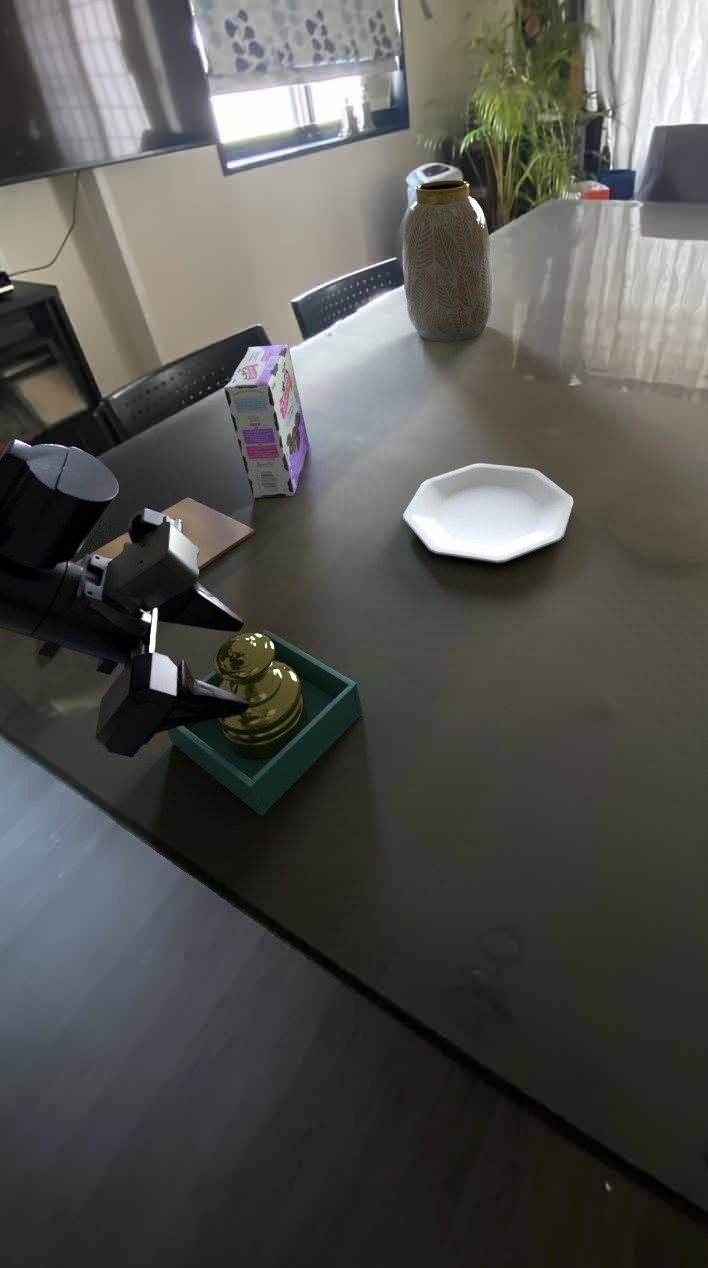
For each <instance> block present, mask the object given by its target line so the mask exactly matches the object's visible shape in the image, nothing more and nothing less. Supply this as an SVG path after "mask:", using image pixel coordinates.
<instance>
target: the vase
mask: <svg viewBox="0 0 708 1268" xmlns="http://www.w3.org/2000/svg"><path fill="white" fill-rule="evenodd" d="M415 196H416V200H415V201H414V202H413V203H412V205H411V206H410V208H409V210H408V211H407V213H406V215H405V218H404V222H403V230H402V231H403V232H402V272H403V287H404V294H405V295H404V298H405V304H406V305H405V306H406V311H407V315H408V317H409V320H410V322H411V324H412V326H413V327H414V329H415V330H416V332H417V334H418V335H419V336H420V337H422V338H423V339H426V340H429V341H435V342H458V341H463V340H467V339H471V338H473V337H476V336H477V335H479V334H481V333H482V332H483V331H484V330H485V328H486V326H487V324H488V322H489V319H490V317H491V315H492V312H493V311H492V310H493V304H494V303H493V301H494V297H493V296H494V281H493V279H494V278H493V262H492V261H493V260H492V250H491V249H492V248H491V242H490V236H489V229H488V225H487V220H486V216H485V214H484V212H483V209H482V208H481V206H480V205H479V203H478V202H477V201H476V200H475V198H473V197H472V196H470V183H469V181H466V180H462V179H446V180H445V179H443V180H434V181H429V182H423V183H420V184H419V185H416V186H415Z"/></svg>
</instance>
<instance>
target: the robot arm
mask: <svg viewBox="0 0 708 1268" xmlns="http://www.w3.org/2000/svg"><path fill="white" fill-rule="evenodd" d="M113 473H114V472H112V470H110V468H109V467H108V466H106V464H104V463H103V462H102V461H101V460H99V459H98V458H96V457H95V456H93V455H92V454H90V453H88V452H86V451H84V450H82V449H80V448H77V447H75V446H70V447H67V446H64V445H60V444H53V443H40V444H35V445H32V446H31V445H30V444H27V443H26V442H25V443H24V442H22V441H20V440H19V439H10V440H9V442H8V444H7V445H6V446H5V449H4V451H3V452H2V454H1V456H0V629H2V630H6V631H9V632H12V633H15V634H18V635H21V636H25V637H29V638H32V639H35V640H38V641H40V643H39V646H38V649H37V653H36V654H38V655H40V656H45V657H48V658H50V659H52V658H54V656H55V655H56V653H57V652H58V650H59V649H60V648H64V649H67V650H70V651H73V652H77V653H80V654H84V655H86V656H89V657H93V658H96V659H98V660H97V663H96V672H98V673H101V674H105V675H108V676H111V674H113V672H114V670H115V669H116V668H117V666H118V665H119V664H121V665H123V669H122V671H120V673H119V674H118V676H117V677H116V678H115V679H114V681H113V682H112V684H111V685H110V687H109V688H108V689H107V690H106V692H105V693H104V694H103V696H102V697H101V700H100V706H99V712H98V713H99V714H98V718H97V724H96V730H95V740H96V742H97V743H98V745H99V746H100V748H101V750H102V751H105V752H108V753H111V754H115V755H119V756H123V757H127V758H134V757H135V755H136V754H137V753H138V751H140V749H141V748H142V747H143V745H145V746H146V745H148V744H149V743H150V741H151V740H152V739H153V738H154V736H155V735H156V734H159V733H163V732H165V731H166V730H170V729H173V728H177V727H180V726H184V725H188V724H192V723H197V722H202V721H208V720H213V719H218V718H224V717H229V716H234V715H240V714H243V713H244V712H245V711H246V710H247V709H248V708H249V706H250V705H249V701H247V700H246V699H244V698H242V697H240V696H238V695H236V694H233V693H231V692H228V691H225V690H223V689H220V688H217V687H215V686H212V685H210V684H207V683H204V682H202V681H201V680H199V679H196V678H195V677H194V676H193V675H192V672H191V671H190V669H189V666H188V664H187V662H186V660H185V659H181V661H180V662H179V664H178V665H177V666H176V664H175V663H174V662H173V661H172V659H171V658H169V656H167V655H165V654H161V653H159V652H156V644H157V643H156V642H157V631H158V622H161V623H167V624H175V625H181V626H188V627H194V628H200V629H206V630H213V631H219V632H220V631H221V632H231V633H238V632H240V631H241V630H242V628H243V627H244V626H245V622H244V620H243V619H242V618H241V617H240V616H239V615H238V614H236V613H235V612H234V611H233V610H231V609H230V608H229V607H228V606H226V605H225V604H224V603H223V602H222V601H221V600H219V599H218V598H217V597H216V596H214V595H213V594H212V593H211V592H210V591H209V590H208V589H207V588H205V587H204V585H202V584H201V583H200V582H199V581H198V580H199V576H200V570H199V569H198V567H197V555H198V554H199V548H198V547H197V546H196V545H195V544H194V543H193V542H192V541H191V540H189V539H188V538H187V537H186V536H185V535H184V534H183V522H182V521H181V520H180V519H171V518H170V517H169V516H168V515H164V514H161V512H158V511H155V510H152V509H148V508H146V507H143V508H141V509H140V510H138V511H137V512H135V513H134V514H132V515H131V516H130V517H129V520H128V527H127V532H128V533H129V536H130V539H131V541H132V543H130V542H128V541H127V542H126V543H124V547H123V551H122V552H121V553H120V554H119V555H117V556H116V557H115V558H113V559H109V558H105V557H102V556H100V555H97V554H93V555H92V556H91V555H89V554H88V553H86V554H85V556H84V557H82V558H83V560H82V561H81V563H80V564H77V563H76V562H74V561H71V560H73V559H75V557H76V556H77V554H78V553H79V552H80V550H81V549H82V547H83V546H84V545H85V543H86V541H87V540H88V539H89V537H90V535H91V534H92V532H93V531H94V529H95V528H96V526H97V525H98V523H100V520H101V519H102V517H103V516H104V514H105V513H106V511H107V510H108V509H109V507H110V506H111V504H112V502H113V501H114V499H115V498H116V497H117V495H118V494H119V490H120V487H119V482H118V480H117V478H116V476H115V475H114V474H113ZM166 732H167V731H166Z"/></svg>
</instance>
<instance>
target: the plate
mask: <svg viewBox="0 0 708 1268" xmlns="http://www.w3.org/2000/svg"><path fill="white" fill-rule="evenodd" d="M573 506H574V499H573V497H572V496H571V494H569V493H568V492H567V491H565V490H564V489H563V488H561V487H560V486H559V485H557V484H556V482H554V481H552V480H551V479H549V478H548V476H546V475H544V474H543V473H542V472H541V471H539V470H537V469H535V468H530V467H529V468H528V467H520V466H511V465H510V466H509V465H502V464H492V463H483V462H480V463H473V464H470V465H467V466H464V467H460V468H457V469H455V470H452V471H449V472H445V473H443V474H440V475H436V476H434V477H431V478H428V479H426V480H424V481H423V482H422V483H421V484H420V486H419V488H418V489H417V490H416V492H415V494H414V496H413V497H412V499H411V500H410V502H409V503H408V506H407V507H406V509H405V510H404V512H403V514H402V519H403V521H404V522H405V524H406V525H407V526H408V527H409V529H410V530H411V531H412V532H413V533H414V535H415V536H416V537H417V538H418V539H419V541H420V542H421V543H422V544H423V546H424V547H425V548H426V549H427V550H428V552H430V553H432V554H434V555H436V556H442V557H449V558H455V559H461V560H467V561H475V562H482V563H489V564H495V565H500V564H501V565H502V564H507V563H509V562H512V561H515V560H518V559H519V558H522V557H524V556H527V555H529V554H532V553H535V552H537V551H540V550H542V549H544V548H547V547H550V546H552V545H554V544H557V543H560V542H561V541H562V540H563V539H564V538H565V534H566V530H567V527H568V524H569V519H570V517H571V513H572V509H573Z"/></svg>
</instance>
